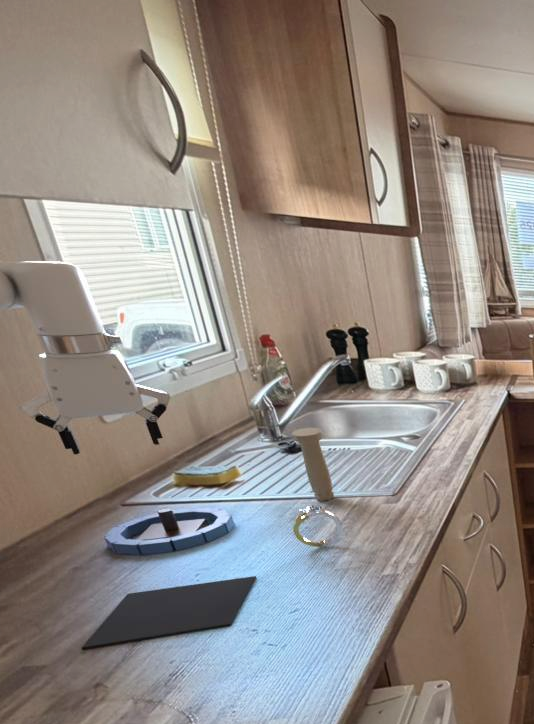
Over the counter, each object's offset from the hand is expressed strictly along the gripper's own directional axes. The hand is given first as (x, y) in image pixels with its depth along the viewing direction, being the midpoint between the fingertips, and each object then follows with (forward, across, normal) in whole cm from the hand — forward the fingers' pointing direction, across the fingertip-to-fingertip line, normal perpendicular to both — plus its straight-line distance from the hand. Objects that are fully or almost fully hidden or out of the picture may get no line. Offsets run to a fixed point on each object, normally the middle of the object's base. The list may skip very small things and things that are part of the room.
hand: (117, 447), depth 109 cm
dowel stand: (+18, -3, -2) cm, 18 cm away
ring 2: (+18, -22, +20) cm, 35 cm away
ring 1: (+18, -3, -2) cm, 18 cm away
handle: (+18, -27, -6) cm, 33 cm away
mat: (+18, -1, +32) cm, 37 cm away
